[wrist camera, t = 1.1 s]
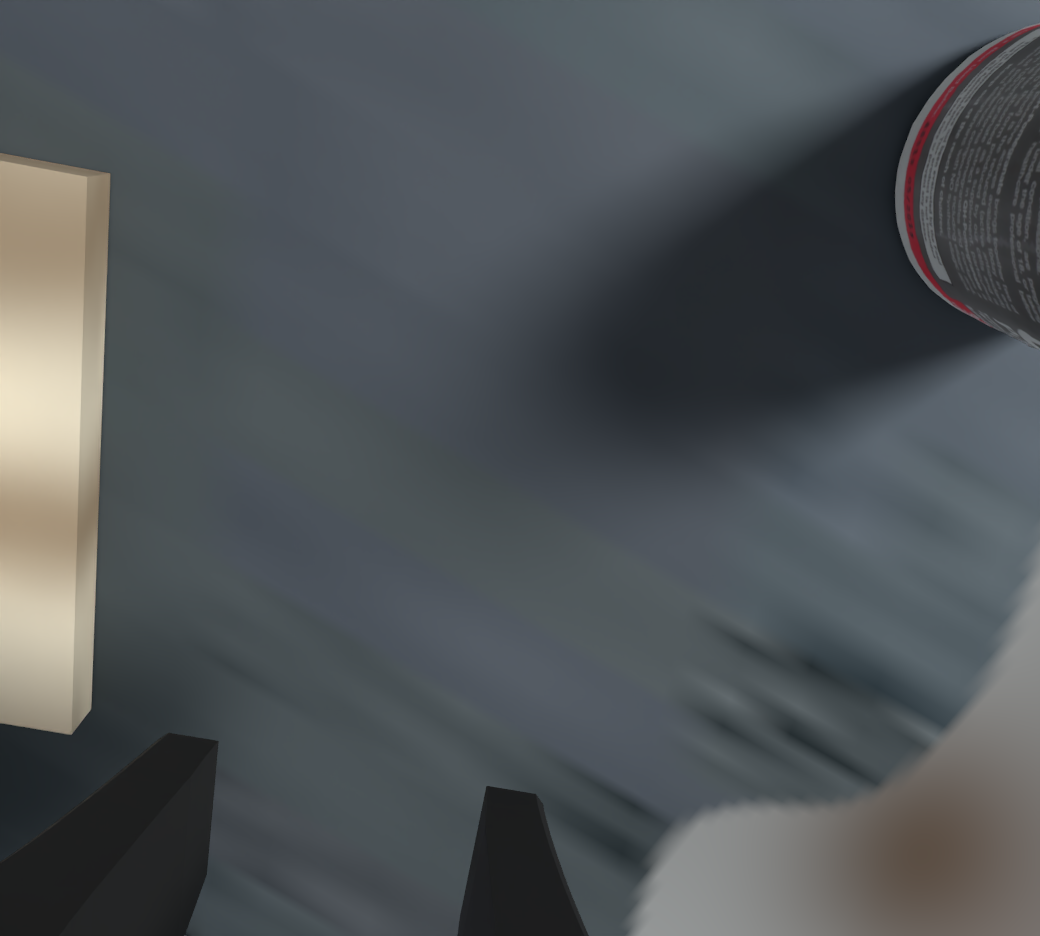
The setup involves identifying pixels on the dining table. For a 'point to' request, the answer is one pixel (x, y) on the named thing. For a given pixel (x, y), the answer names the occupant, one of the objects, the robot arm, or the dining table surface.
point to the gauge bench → (50, 435)
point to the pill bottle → (979, 187)
